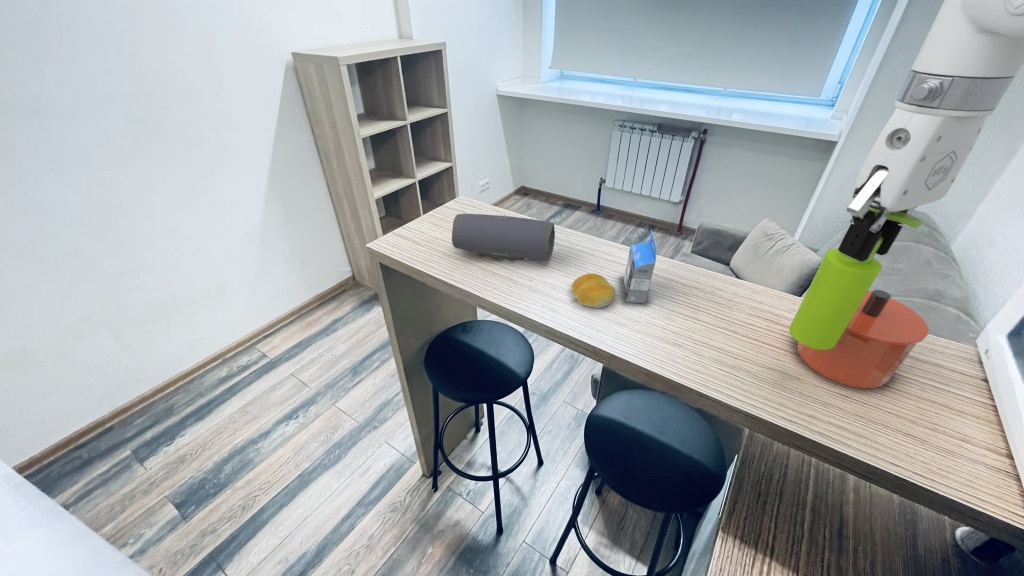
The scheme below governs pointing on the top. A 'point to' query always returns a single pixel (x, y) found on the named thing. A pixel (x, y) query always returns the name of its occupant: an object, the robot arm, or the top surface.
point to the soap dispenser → (838, 293)
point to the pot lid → (887, 321)
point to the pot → (856, 360)
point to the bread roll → (593, 290)
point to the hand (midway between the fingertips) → (861, 251)
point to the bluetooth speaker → (503, 236)
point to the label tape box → (640, 270)
